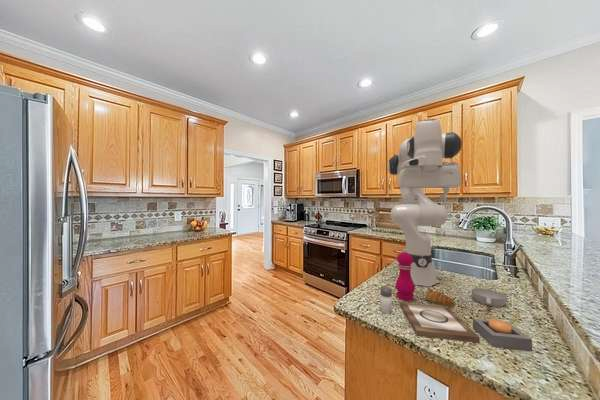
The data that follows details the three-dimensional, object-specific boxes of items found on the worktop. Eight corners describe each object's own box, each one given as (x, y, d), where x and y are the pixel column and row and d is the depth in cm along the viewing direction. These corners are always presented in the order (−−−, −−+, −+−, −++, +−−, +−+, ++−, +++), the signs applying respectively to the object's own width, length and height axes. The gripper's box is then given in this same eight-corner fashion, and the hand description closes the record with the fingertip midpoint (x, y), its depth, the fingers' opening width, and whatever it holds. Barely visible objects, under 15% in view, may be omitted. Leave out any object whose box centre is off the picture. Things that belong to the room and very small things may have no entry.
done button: (484, 325, 65) (484, 317, 65) (503, 327, 64) (503, 319, 64) (496, 335, 60) (495, 326, 60) (516, 337, 59) (516, 328, 59)
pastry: (457, 305, 83) (457, 295, 83) (450, 310, 79) (449, 299, 79) (431, 296, 91) (431, 287, 91) (423, 300, 87) (423, 291, 87)
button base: (472, 327, 67) (472, 318, 67) (506, 331, 65) (506, 321, 65) (492, 346, 58) (492, 335, 58) (532, 351, 56) (531, 339, 56)
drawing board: (400, 306, 81) (400, 301, 81) (447, 310, 78) (447, 305, 78) (416, 335, 63) (416, 329, 63) (479, 342, 60) (479, 335, 60)
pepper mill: (391, 295, 91) (391, 248, 92) (404, 293, 94) (404, 247, 94) (405, 302, 84) (405, 251, 85) (419, 300, 87) (418, 250, 87)
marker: (379, 308, 79) (379, 286, 80) (390, 309, 79) (390, 287, 79) (381, 313, 76) (381, 290, 76) (392, 314, 75) (392, 291, 75)
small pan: (506, 301, 86) (506, 292, 86) (509, 319, 73) (509, 307, 73) (472, 294, 93) (472, 285, 93) (469, 309, 80) (469, 298, 80)
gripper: (455, 163, 81) (455, 200, 80) (396, 165, 84) (397, 200, 84) (464, 159, 74) (465, 199, 74) (401, 161, 78) (401, 199, 78)
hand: (428, 200), depth 79 cm, fingers open, 8 cm apart
